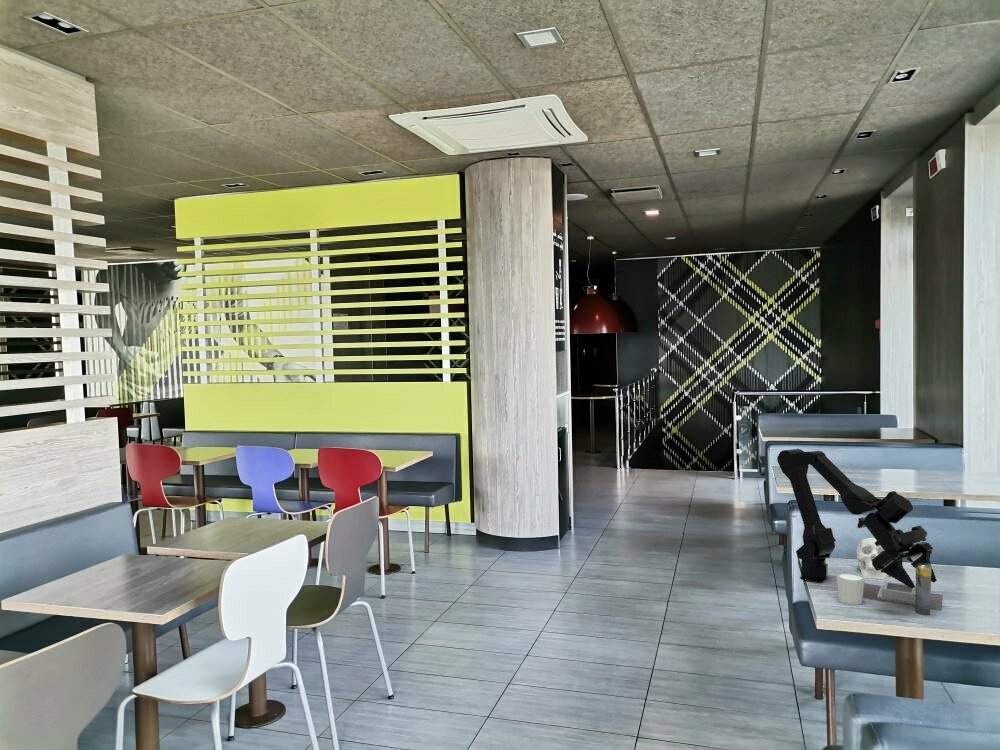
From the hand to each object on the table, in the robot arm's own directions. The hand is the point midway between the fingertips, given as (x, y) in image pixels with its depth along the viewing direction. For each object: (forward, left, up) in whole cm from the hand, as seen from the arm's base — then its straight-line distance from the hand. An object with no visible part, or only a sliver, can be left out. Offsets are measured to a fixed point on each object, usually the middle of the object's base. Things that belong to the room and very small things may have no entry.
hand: (924, 584), depth 187 cm
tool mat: (-7, +11, -8) cm, 15 cm away
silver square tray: (-6, +10, -7) cm, 14 cm away
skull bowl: (-14, +32, -8) cm, 36 cm away
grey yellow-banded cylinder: (0, 0, -8) cm, 8 cm away
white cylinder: (-17, 0, -8) cm, 19 cm away
